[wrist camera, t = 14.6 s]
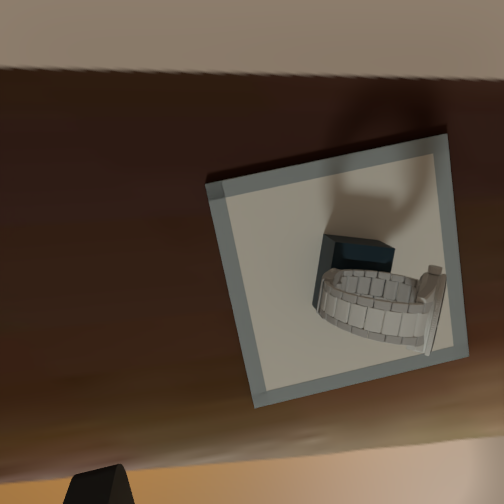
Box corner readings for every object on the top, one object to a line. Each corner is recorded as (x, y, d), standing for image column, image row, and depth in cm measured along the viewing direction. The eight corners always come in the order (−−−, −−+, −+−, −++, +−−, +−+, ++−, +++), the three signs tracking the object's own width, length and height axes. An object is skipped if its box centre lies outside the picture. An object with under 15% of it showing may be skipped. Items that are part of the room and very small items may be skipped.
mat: (253, 404, 38) (254, 408, 37) (204, 183, 34) (205, 184, 33) (464, 353, 39) (469, 356, 38) (442, 133, 35) (447, 133, 34)
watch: (389, 311, 37) (468, 378, 26) (289, 302, 35) (328, 367, 25) (403, 241, 35) (491, 281, 25) (300, 230, 34) (345, 265, 24)
